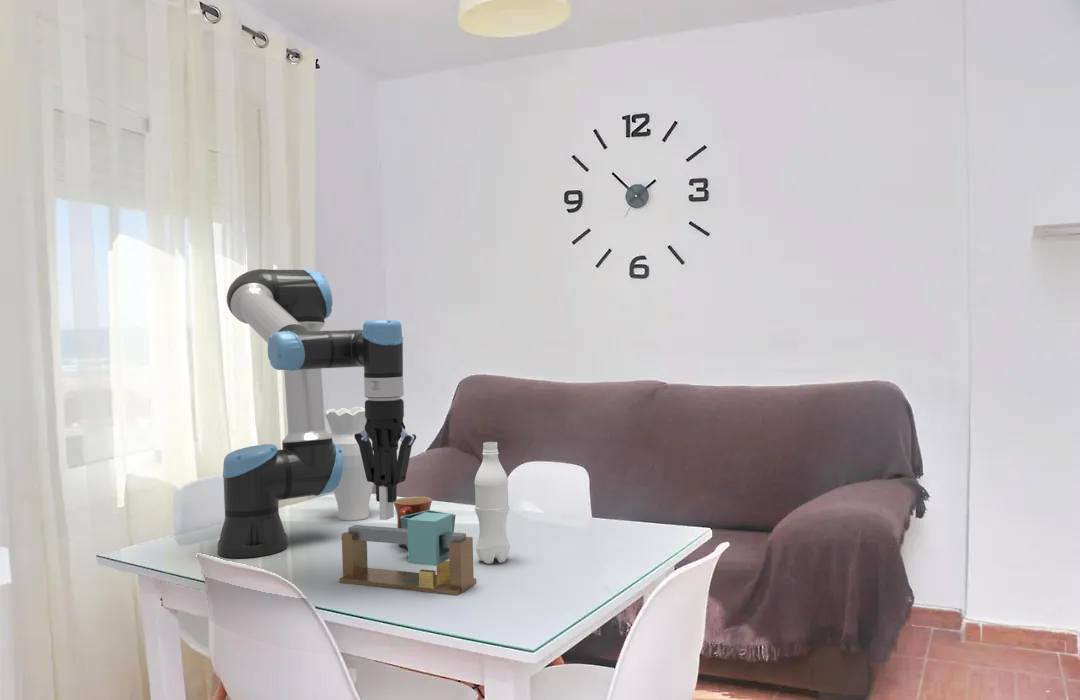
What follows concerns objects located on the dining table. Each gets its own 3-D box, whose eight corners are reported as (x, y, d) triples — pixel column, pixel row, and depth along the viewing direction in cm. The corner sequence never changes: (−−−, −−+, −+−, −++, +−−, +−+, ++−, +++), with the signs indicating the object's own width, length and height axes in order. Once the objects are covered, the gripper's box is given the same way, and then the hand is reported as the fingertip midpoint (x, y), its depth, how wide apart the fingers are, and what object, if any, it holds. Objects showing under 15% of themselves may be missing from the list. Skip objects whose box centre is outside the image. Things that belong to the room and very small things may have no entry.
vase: (324, 514, 225) (320, 408, 224) (378, 509, 229) (375, 405, 228) (327, 526, 211) (323, 412, 210) (385, 520, 215) (381, 409, 214)
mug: (403, 539, 194) (401, 496, 194) (438, 540, 193) (437, 496, 193) (383, 553, 183) (382, 507, 183) (420, 554, 181) (419, 507, 181)
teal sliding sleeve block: (408, 563, 156) (407, 519, 156) (426, 554, 162) (424, 512, 162) (436, 565, 154) (434, 521, 154) (453, 556, 160) (451, 514, 160)
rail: (338, 582, 162) (336, 530, 161) (362, 571, 169) (360, 521, 169) (457, 595, 152) (456, 540, 152) (477, 582, 159) (475, 530, 159)
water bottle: (480, 566, 170) (476, 446, 169) (473, 557, 177) (470, 441, 176) (513, 563, 172) (510, 443, 171) (506, 554, 179) (503, 439, 178)
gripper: (344, 399, 160) (347, 520, 161) (402, 401, 155) (405, 525, 156) (366, 396, 167) (369, 511, 168) (423, 397, 162) (425, 516, 163)
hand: (386, 518), depth 162 cm, fingers closed
